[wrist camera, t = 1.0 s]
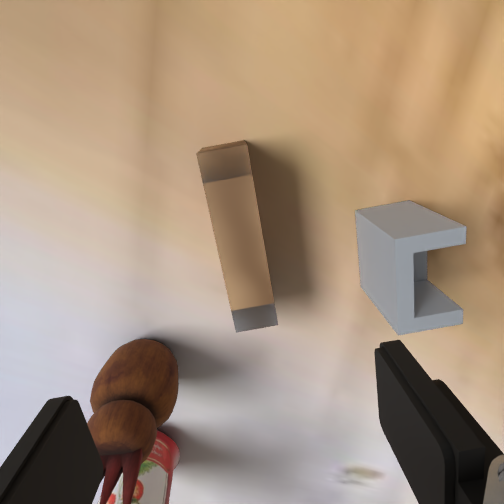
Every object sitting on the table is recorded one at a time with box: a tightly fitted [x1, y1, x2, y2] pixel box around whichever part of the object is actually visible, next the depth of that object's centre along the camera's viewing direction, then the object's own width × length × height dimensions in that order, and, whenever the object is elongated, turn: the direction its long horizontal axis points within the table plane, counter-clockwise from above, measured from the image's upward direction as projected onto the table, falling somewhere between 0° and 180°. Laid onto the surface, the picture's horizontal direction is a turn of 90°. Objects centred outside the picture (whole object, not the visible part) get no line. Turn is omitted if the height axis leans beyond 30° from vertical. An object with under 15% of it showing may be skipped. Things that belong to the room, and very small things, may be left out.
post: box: [355, 200, 466, 335], centre depth 28 cm, size 7×5×8 cm, turn 10°
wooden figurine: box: [87, 339, 179, 504], centre depth 28 cm, size 7×6×15 cm
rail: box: [197, 140, 278, 332], centre depth 29 cm, size 3×14×5 cm, turn 10°
